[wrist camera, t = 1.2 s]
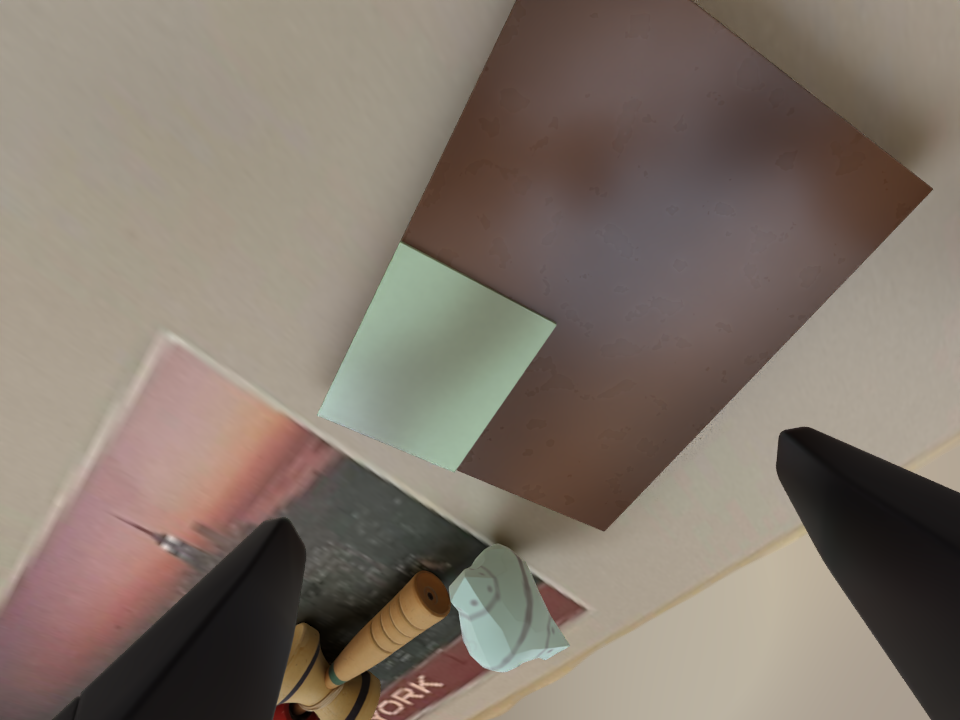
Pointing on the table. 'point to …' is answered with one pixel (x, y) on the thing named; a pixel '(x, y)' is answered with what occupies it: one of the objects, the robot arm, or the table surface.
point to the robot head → (503, 612)
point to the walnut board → (610, 253)
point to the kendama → (356, 657)
